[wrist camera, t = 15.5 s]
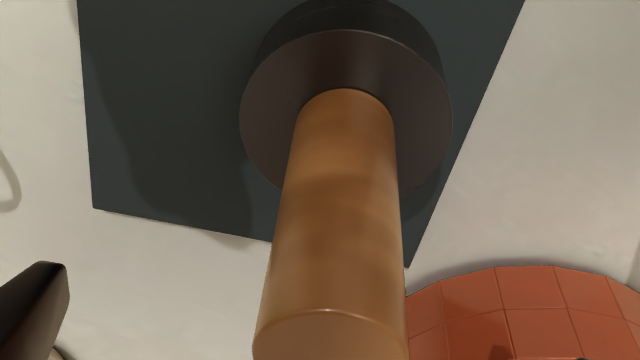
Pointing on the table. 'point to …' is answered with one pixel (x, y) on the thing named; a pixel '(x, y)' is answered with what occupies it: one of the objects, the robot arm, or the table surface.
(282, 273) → the coffee tamper
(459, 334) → the bowl
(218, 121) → the mat
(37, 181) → the table surface
